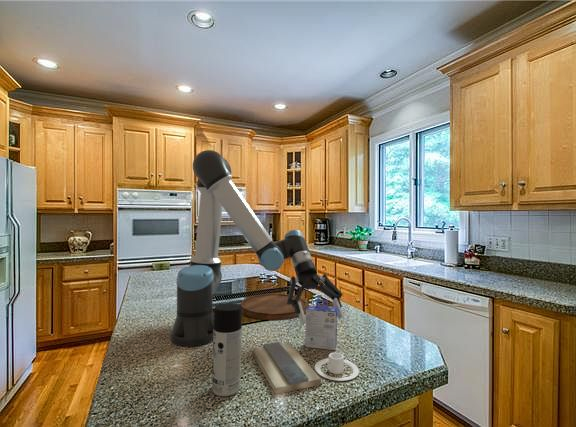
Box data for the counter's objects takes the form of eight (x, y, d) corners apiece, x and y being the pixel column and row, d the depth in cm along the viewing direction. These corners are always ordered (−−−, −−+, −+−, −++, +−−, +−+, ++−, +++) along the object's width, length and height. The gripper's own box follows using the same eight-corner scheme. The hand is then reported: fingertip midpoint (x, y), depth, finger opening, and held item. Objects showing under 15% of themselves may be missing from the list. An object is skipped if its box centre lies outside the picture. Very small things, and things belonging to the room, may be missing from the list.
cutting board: (321, 305, 142) (321, 300, 142) (284, 327, 115) (284, 320, 115) (266, 294, 159) (266, 289, 159) (222, 311, 132) (222, 305, 132)
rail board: (275, 394, 72) (275, 384, 72) (252, 353, 92) (252, 345, 92) (321, 384, 76) (321, 375, 76) (288, 347, 96) (289, 340, 96)
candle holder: (338, 356, 92) (338, 342, 92) (368, 375, 82) (368, 359, 82) (305, 367, 85) (306, 351, 85) (334, 388, 75) (334, 371, 75)
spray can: (214, 381, 76) (215, 302, 76) (241, 381, 77) (242, 302, 77) (209, 398, 70) (211, 311, 70) (239, 397, 70) (241, 311, 70)
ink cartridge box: (337, 343, 100) (337, 299, 100) (336, 351, 95) (337, 304, 95) (307, 340, 102) (308, 297, 102) (304, 347, 97) (305, 302, 97)
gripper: (274, 261, 105) (290, 319, 91) (337, 258, 114) (360, 310, 100) (269, 274, 110) (284, 330, 96) (330, 269, 119) (351, 320, 105)
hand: (323, 320), depth 98 cm, fingers open, 13 cm apart
